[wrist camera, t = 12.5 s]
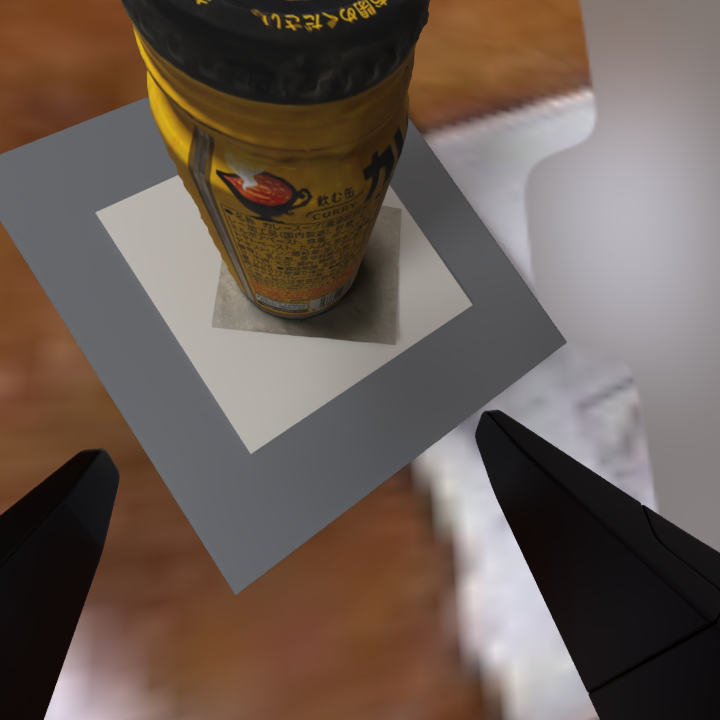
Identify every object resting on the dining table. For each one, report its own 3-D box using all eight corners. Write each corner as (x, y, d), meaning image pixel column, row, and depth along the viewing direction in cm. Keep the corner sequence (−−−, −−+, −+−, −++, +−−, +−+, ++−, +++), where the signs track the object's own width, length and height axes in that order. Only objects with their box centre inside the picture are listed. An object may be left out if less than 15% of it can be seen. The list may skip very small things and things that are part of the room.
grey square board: (553, 345, 20) (569, 341, 18) (240, 583, 15) (234, 597, 14) (339, 40, 21) (341, 17, 19) (-13, 182, 16) (-38, 164, 15)
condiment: (233, 184, 17) (71, -337, 5) (401, 210, 18) (577, -164, 6) (212, 328, 16) (-60, 73, 4) (393, 346, 17) (596, 191, 5)
